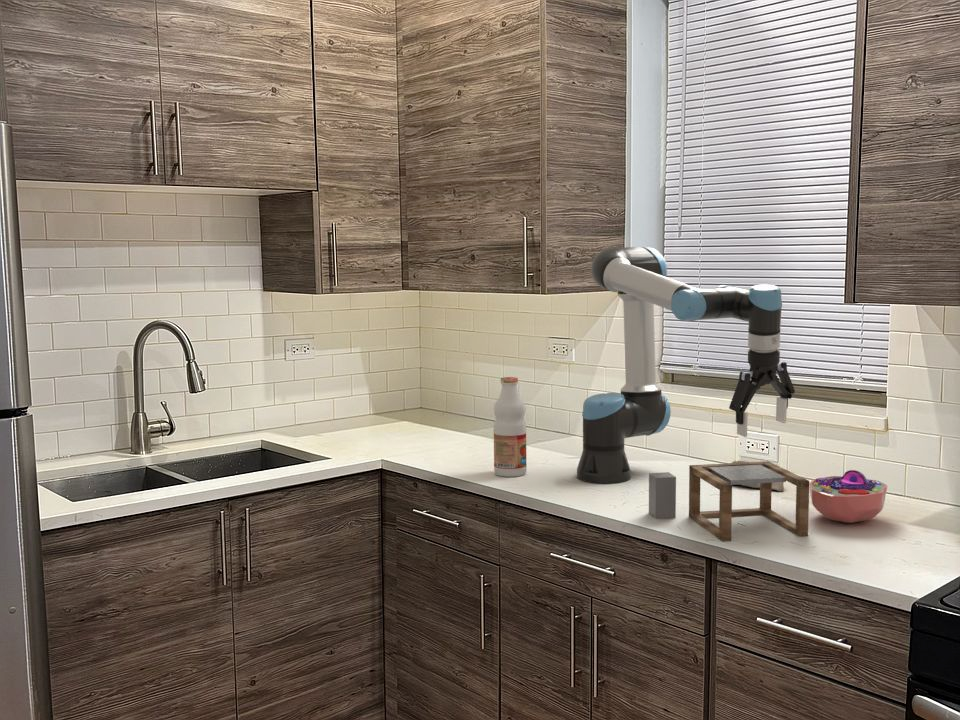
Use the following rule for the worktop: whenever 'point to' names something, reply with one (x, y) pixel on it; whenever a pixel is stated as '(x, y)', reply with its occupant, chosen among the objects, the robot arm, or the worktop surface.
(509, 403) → the fruit juice
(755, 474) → the trapdoor flap
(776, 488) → the concrete fragment
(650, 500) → the basalt block
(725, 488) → the stand
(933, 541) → the worktop surface
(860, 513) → the cell model
